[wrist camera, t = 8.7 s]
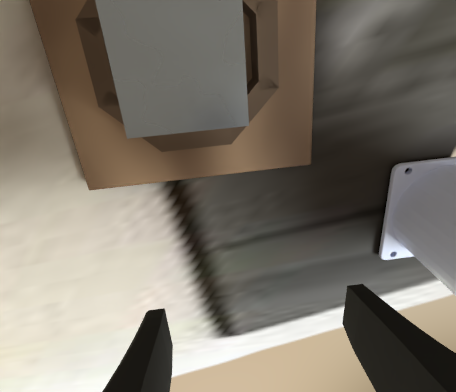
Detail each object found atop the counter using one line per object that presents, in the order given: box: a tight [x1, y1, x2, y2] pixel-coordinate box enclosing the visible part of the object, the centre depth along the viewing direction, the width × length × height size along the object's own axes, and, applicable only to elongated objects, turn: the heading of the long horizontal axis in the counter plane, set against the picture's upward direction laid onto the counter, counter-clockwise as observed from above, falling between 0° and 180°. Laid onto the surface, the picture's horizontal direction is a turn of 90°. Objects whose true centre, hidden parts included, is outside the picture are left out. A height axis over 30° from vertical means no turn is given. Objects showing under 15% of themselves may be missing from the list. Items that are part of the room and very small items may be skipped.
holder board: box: [29, 0, 316, 190], centre depth 16 cm, size 14×14×3 cm
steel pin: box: [95, 0, 249, 139], centre depth 13 cm, size 4×4×8 cm
